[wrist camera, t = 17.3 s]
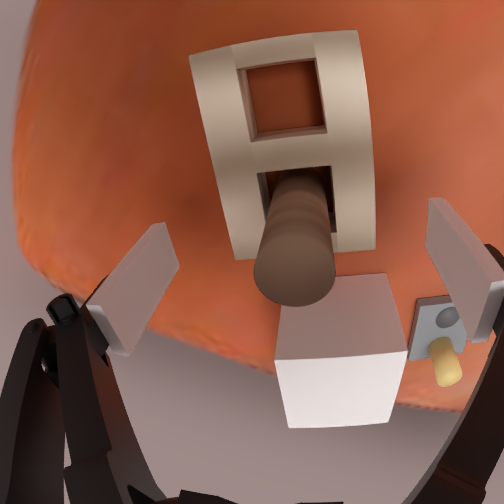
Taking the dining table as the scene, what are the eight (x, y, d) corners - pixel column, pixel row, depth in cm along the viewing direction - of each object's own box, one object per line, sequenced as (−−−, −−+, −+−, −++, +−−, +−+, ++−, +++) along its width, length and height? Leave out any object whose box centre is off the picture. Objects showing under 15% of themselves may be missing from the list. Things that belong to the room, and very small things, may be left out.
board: (417, 298, 24) (432, 342, 20) (476, 291, 23) (497, 330, 18) (406, 353, 27) (415, 394, 23) (459, 345, 26) (472, 383, 22)
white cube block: (284, 280, 25) (274, 359, 18) (386, 272, 23) (408, 350, 16) (295, 355, 29) (288, 427, 23) (378, 350, 28) (387, 422, 21)
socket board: (204, 57, 17) (187, 55, 14) (349, 36, 15) (357, 29, 12) (243, 237, 23) (235, 260, 21) (367, 227, 21) (375, 249, 19)
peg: (271, 167, 20) (245, 244, 12) (320, 161, 20) (332, 235, 11) (280, 211, 22) (262, 309, 14) (326, 206, 21) (337, 303, 13)
